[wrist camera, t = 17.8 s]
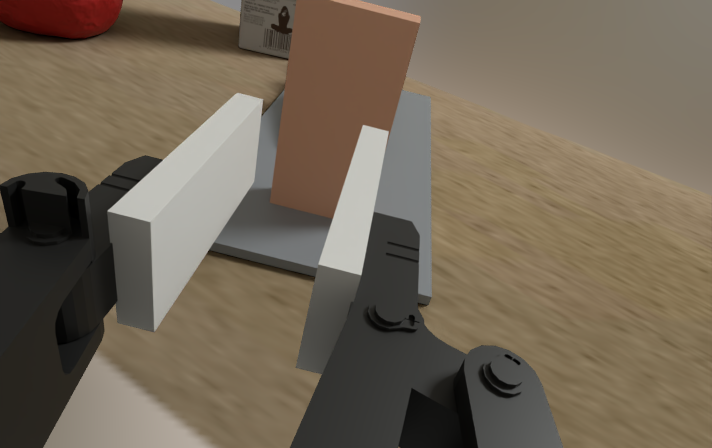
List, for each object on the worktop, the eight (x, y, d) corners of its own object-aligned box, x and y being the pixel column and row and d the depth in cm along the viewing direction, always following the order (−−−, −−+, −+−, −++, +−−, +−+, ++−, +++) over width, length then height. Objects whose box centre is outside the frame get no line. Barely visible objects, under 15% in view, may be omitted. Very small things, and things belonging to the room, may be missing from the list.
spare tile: (364, 226, 24) (419, 23, 19) (269, 202, 24) (297, -9, 19) (368, 210, 26) (420, 16, 20) (278, 187, 26) (306, -14, 20)
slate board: (165, 239, 21) (165, 230, 21) (304, 70, 45) (305, 65, 44) (428, 305, 21) (431, 297, 21) (428, 102, 45) (430, 97, 44)
